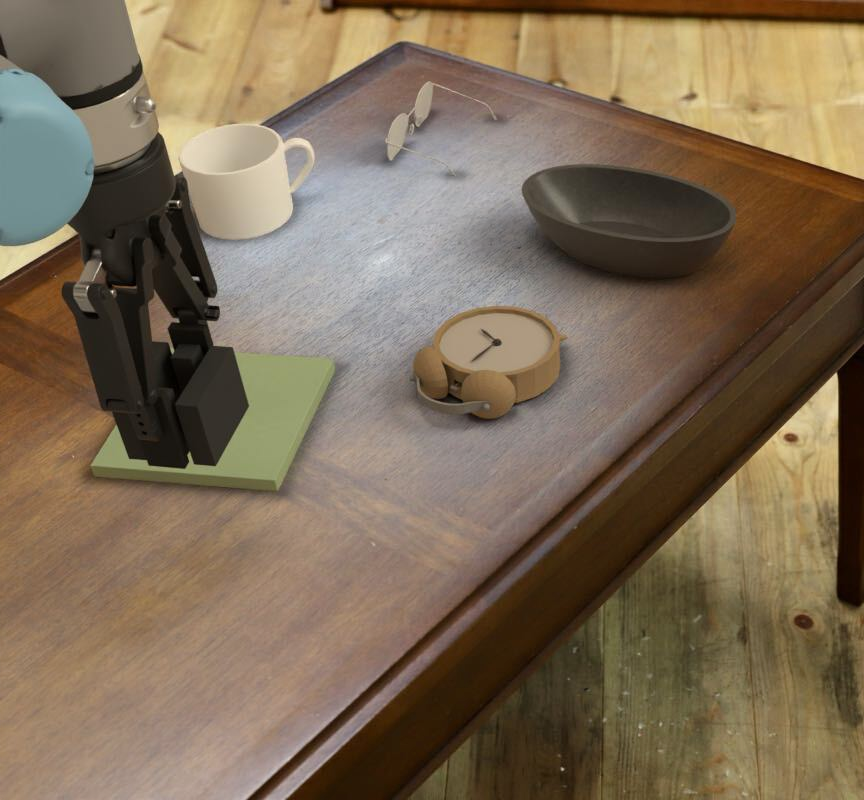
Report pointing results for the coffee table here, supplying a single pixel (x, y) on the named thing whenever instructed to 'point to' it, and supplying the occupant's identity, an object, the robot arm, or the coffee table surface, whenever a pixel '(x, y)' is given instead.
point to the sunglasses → (420, 114)
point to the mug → (241, 179)
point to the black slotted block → (195, 400)
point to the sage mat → (244, 428)
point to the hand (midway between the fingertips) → (189, 429)
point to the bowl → (629, 218)
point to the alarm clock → (488, 361)
